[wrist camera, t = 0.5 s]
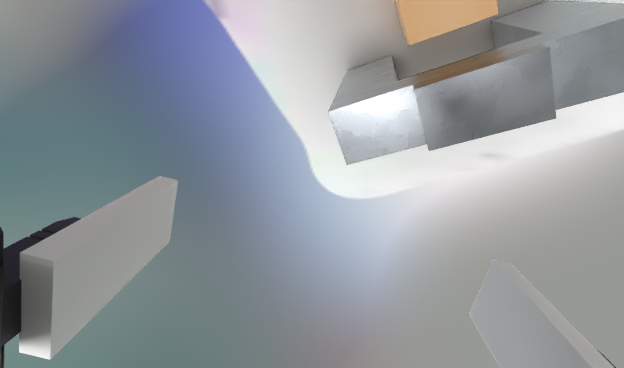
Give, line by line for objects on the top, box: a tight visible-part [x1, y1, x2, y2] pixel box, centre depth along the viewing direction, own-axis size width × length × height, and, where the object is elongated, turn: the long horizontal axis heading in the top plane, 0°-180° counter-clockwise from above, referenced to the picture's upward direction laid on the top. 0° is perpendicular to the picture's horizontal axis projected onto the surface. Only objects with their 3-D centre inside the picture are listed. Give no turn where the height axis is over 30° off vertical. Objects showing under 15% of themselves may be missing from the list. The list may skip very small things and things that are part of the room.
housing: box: [328, 1, 624, 165], centre depth 27 cm, size 18×4×16 cm, turn 111°
